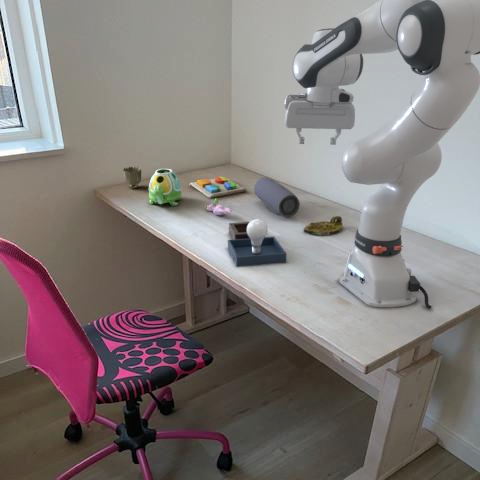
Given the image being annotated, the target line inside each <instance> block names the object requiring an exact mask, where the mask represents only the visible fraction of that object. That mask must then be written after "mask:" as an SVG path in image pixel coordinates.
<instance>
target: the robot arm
mask: <svg viewBox="0 0 480 480" xmlns="http://www.w3.org/2000/svg"><path fill="white" fill-rule="evenodd" d="M395 51H398V52H399V54H400V55H401V57H402V59H403V60H404V62H405V63H406V64H407V65H408V66H410V69H411V71H412V72H413V73H415V74H416V75H419V76H423V79H422V81H421V82H420V83H419V84H418V86H417V87H416V88H415V90H414V91H413V93H412V94H411V95H410V97H409V98H408V100H407V101H406V102H405V103H404V105H403V106H402V107H401V108H400V109H399V111H398V112H397V113H396V114H395V115H394V116H393V117H391V118H390V120H388V121H387V122H386V123H385V124H383V125H382V126H381V127H379V128H377V129H376V130H374V131H373V132H372V133H370V134H368V135H367V136H364V137H363V138H360V139H358V140H356V141H353V142H350V143H349V144H348V145H347V146H346V148H345V150H344V152H343V154H342V157H341V169H342V173H343V175H344V177H345V178H346V180H347V181H348V182H350V183H352V184H359V185H367V186H373V185H381V186H380V187H379V188H378V189H377V190H376V192H374V193H373V194H371V195H370V196H368V197H366V199H365V200H364V201H363V202H362V205H361V209H360V216H359V221H358V228H357V230H356V232H355V235H354V247H353V249H352V250H351V251H350V253H349V254H348V256H347V261H346V265H345V269H344V273H343V275H341V276H340V278H339V281H338V283H339V284H341V286H343V287H344V288H345V289H347V290H348V291H349V292H351V294H353V295H354V296H356V297H357V298H358V299H360V300H361V301H362V302H363V303H364V304H366V305H367V306H368V307H373V308H398V307H405V306H409V305H412V304H414V303H416V302H417V296H416V294H415V293H416V292H417V293H419V291H420V292H421V293H422V294H423V298H424V305H425V307H426V308H427V309H428V310H431V309H432V305H430V304H429V295H428V293H427V291H426V290H425V288H424V287H423V286H422V285H421V282H420V281H419V280H418V279H417V277H416V276H415V275H412V269H411V268H408V267H407V266H406V263H405V258H403V256H402V253H401V252H402V250H403V247H404V245H402V244H403V240H402V235H401V232H402V228H403V224H404V219H405V216H406V211H407V209H408V206H409V205H410V202H411V201H412V199H413V197H414V196H415V194H416V193H417V191H419V189H420V188H421V187H422V185H424V183H426V181H428V180H429V179H430V178H432V177H433V176H434V175H435V174H436V173H437V172H438V170H439V168H440V166H441V163H442V159H443V156H442V154H443V153H442V149H441V146H440V145H439V142H440V141H441V140H442V138H444V136H445V135H446V134H447V133H448V132H449V131H450V130H451V129H452V128H453V127H454V125H455V124H456V123H457V122H458V121H459V120H460V118H461V117H462V116H463V115H464V113H465V112H466V111H467V109H468V108H469V106H470V105H471V103H472V102H473V100H474V99H475V97H476V95H477V94H478V91H479V89H480V70H479V69H478V68H477V66H476V65H475V64H474V63H473V62H472V55H473V56H474V55H476V56H477V55H480V0H378V1H377V2H375V3H374V4H372V5H371V6H369V7H367V9H366V8H365V10H363V11H361V12H360V13H358V14H356V15H354V16H353V17H350V18H349V19H347V20H345V21H344V22H342V23H340V24H339V25H337V26H336V27H333V28H321V29H319V30H317V31H315V32H314V34H313V37H312V40H311V44H310V43H309V44H303V45H302V46H301V47H300V48H299V49H298V51H297V52H296V54H295V56H294V58H293V61H292V74H293V77H294V79H295V80H296V81H297V83H298V84H299V85H300V87H302V88H303V89H306V93H295V92H294V93H293V92H292V93H290V94H288V95H287V96H286V97H285V98H284V99H285V100H284V108H285V110H286V111H285V115H284V125H285V127H286V128H287V129H295V132H296V134H297V136H298V144H299V145H305V139H306V138H305V137H304V136H302V134H301V133H302V130H303V129H314V130H315V129H317V130H334V131H335V134H334V136H333V137H330V139H329V144H330V146H331V145H335V146H336V145H337V139H338V138H339V137H340V136H341V134H342V130H352V129H353V128H354V127H355V121H356V110H355V109H356V108H355V106H354V104H353V102H354V99H355V97H354V94H353V93H352V92H350V91H348V90H345V89H344V88H340V87H339V86H341V87H343V86H350V85H354V84H355V83H356V82H357V81H358V80H359V79H360V77H361V75H362V73H363V69H364V56H363V55H366V54H367V55H369V54H372V55H373V54H389V53H392V52H395Z"/></svg>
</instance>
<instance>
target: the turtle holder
mask: <svg viewBox="0 0 480 480" xmlns="http://www.w3.org/2000/svg"><path fill="white" fill-rule="evenodd" d="M148 197H149V199H150V200H149V201H148V203H149V204H150V205H154V203H158V204H159V205H164V204H166V203H169V204H170V206H172V207H176V206H178V205H179V202H177V201H180V200H181V198H182V185H181V182H180V179H179V178H178V176H177V174H176V173H175V172H174V171H173V169H171V168H159V169H156V170H155V172H154V173H153V175H152V176H151V178H150V180H149V185H148Z"/></svg>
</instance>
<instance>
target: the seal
mask: <svg viewBox="0 0 480 480" xmlns="http://www.w3.org/2000/svg"><path fill="white" fill-rule="evenodd" d="M343 225H344V224H343V219H342V217H341V215H340V216H339V215H338V216H336V215H335V216H332V217H331V219H330V221H325V220H324V221H317V222H310V223H309V224H307V225H306V226H305V227H304V228H303V232H304V233H308V234H311V235H312V236H313V235H314V236H330V235H334V234H337V233H340V232H342V230H343V227H344V226H343Z"/></svg>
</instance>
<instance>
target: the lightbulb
mask: <svg viewBox="0 0 480 480" xmlns="http://www.w3.org/2000/svg"><path fill="white" fill-rule="evenodd" d="M248 222H249V224H248V226H247V234H248V236H249V238H250V239H251V243H252V252H253V253H254V254H258V253H260V252H261V244H262V241H263V239H264V238H265V237H267V234H268V232H269V227H268V225H267V223H266V222H265V221H264V220H262V219H260V218H254V219H252V220H250V221H248Z"/></svg>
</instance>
